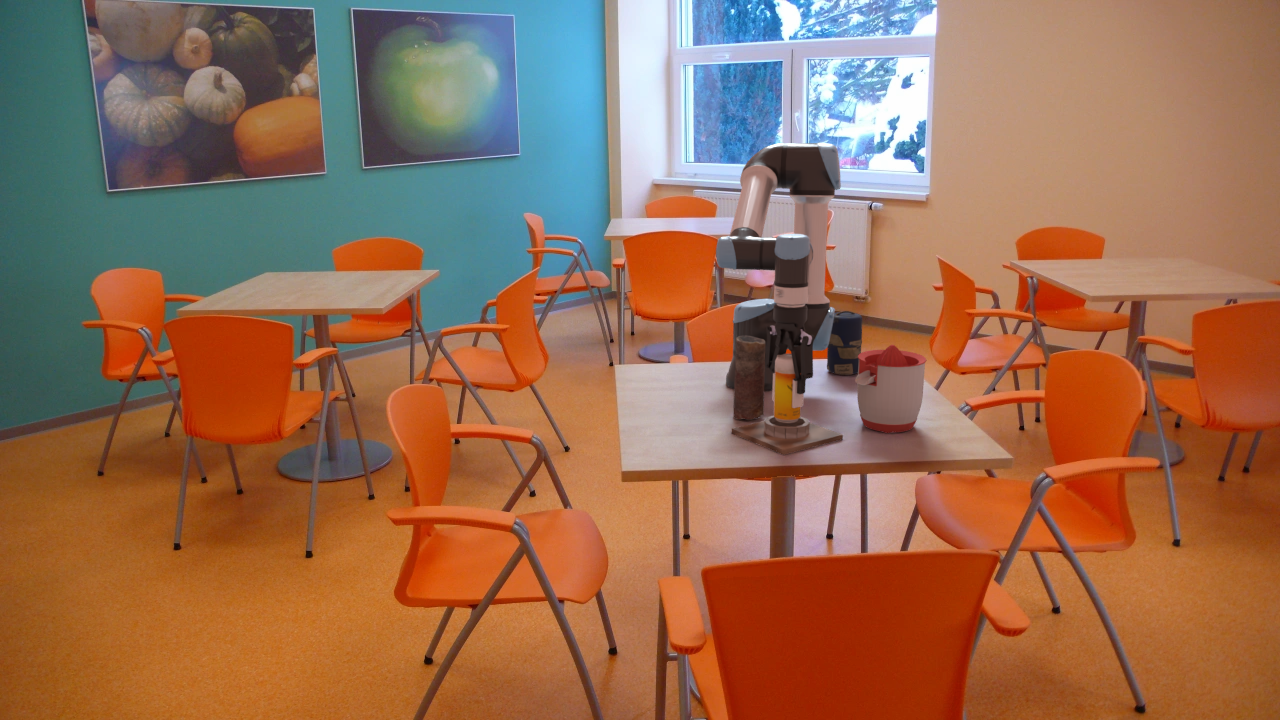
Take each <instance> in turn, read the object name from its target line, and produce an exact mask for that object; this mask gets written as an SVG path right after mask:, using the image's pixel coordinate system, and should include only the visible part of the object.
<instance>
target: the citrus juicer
mask: <svg viewBox="0 0 1280 720" xmlns="http://www.w3.org/2000/svg"><path fill="white" fill-rule="evenodd" d="M858 359H859V366H858V373H857V375H856V377H855V379H854V380H855V381H854V382H855V383H856V384H857V387H856V389H857V390H856V391H857V397H856V398H857V404H858V410H859V411H858V412H859V416H860V419H861V422H862V424H863V426H865V427H866V428H867V429H870V430H872V431H873V430H874V431H877V432H883V434H884V433H885V434H892V433H902V432H904V433H905V432H908V431H911V430H912V429H913V428H914V425H915V424H916V423H917V420H918V417H919V414H920V411H921V407H922V404H923V397H924V385H925V384H924V383H925V369H926V368H925V367H926V362H927V358H926V356H924V355H921V354H920V353H917V352H912V351H908V350H907V351H906V350H900V349H899V348H898V347H897V346H896V345H895V344H890V345H889V346H888V347H886V348H885V349H870V350H866V351H861V353H860V354H859V355H858Z"/></svg>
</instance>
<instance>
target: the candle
mask: <svg viewBox="0 0 1280 720" xmlns="http://www.w3.org/2000/svg"><path fill="white" fill-rule="evenodd" d="M764 376H765V340H763V339H760V338H756V337H752V336H738V337H737V338H736V354H735V387H734V389H733V392H734V394H733V418H734V419H737V420H747V421H751V420H755V419H759V418H761V417H762V416H763V415H764V414H765V413H764V412H765V411H764V410H765V409H764V408H765V391H764Z"/></svg>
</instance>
